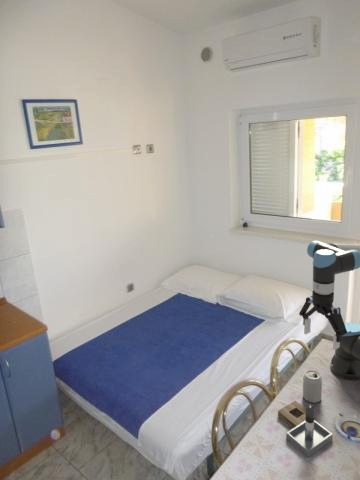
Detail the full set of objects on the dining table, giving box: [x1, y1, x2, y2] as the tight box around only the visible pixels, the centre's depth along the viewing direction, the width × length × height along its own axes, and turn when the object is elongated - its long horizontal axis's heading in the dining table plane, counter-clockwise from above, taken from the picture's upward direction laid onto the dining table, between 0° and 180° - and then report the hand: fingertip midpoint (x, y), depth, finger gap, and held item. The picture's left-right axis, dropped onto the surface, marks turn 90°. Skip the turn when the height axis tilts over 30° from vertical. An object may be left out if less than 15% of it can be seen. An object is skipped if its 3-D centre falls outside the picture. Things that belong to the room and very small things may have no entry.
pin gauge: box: [305, 403, 316, 441], centre depth 138 cm, size 3×3×14 cm
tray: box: [285, 419, 334, 458], centre depth 139 cm, size 13×10×3 cm
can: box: [302, 369, 323, 404], centre depth 158 cm, size 8×8×12 cm
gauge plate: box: [277, 400, 316, 429], centre depth 150 cm, size 10×10×2 cm
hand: (321, 340), depth 145 cm, fingers open, 13 cm apart
